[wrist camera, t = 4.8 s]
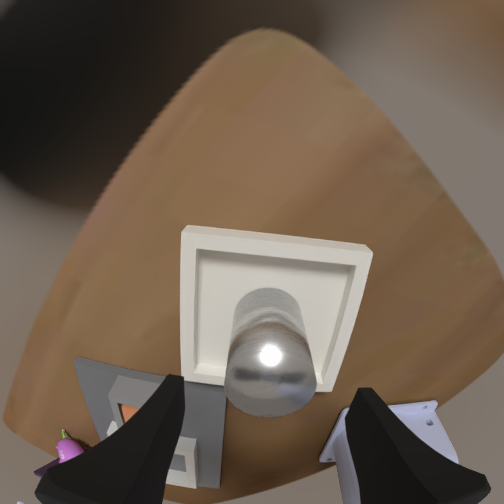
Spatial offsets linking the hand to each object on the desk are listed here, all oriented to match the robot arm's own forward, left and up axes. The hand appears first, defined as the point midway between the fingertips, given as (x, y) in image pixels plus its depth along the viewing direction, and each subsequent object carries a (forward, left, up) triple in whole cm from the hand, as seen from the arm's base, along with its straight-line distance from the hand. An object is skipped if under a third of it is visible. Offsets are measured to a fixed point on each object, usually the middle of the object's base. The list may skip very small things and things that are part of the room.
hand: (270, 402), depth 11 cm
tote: (0, 0, -7) cm, 7 cm away
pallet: (+8, +15, -7) cm, 18 cm away
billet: (0, 0, -7) cm, 7 cm away
